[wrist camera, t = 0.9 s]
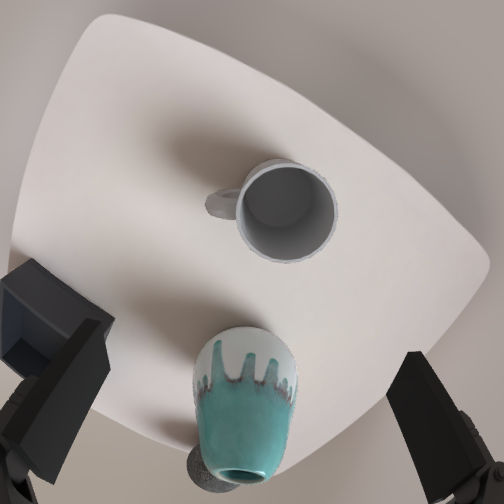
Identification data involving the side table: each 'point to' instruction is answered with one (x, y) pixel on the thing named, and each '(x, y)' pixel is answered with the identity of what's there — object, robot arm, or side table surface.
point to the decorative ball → (205, 474)
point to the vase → (244, 403)
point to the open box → (40, 318)
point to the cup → (280, 210)
